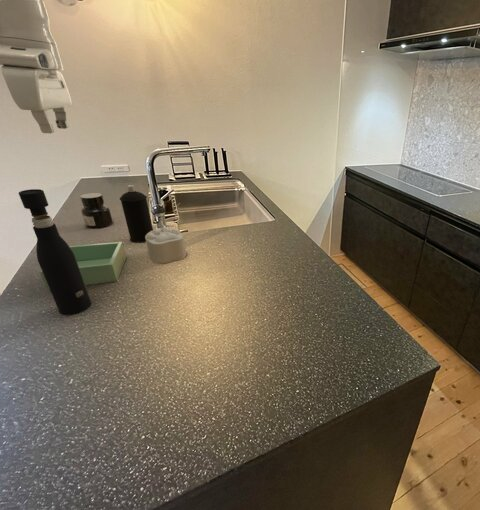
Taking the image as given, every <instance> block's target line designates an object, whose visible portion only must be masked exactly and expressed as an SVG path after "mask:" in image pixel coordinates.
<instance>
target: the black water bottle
mask: <svg viewBox="0 0 480 510" xmlns="http://www.w3.org/2000/svg"><path fill="white" fill-rule="evenodd" d="M18 196H19V198H20V201H21V204H22V205H23V208H24V209H25V210H29V211H30V215H31V217H32V218H31V223H32V226H33V227H32V229H33V231H34V234H35V237H36V249H35V251H36V258H37V262H38V265H39V267H40V270H42V272H43V274H44V277H45V279H46V281H47V284H48V286H49V291H50V294H51V296H52V298H53V300H54V303H55V305H56V308H57V311H58V312H59V314H61V315H63V316H71V315H76V314H80V313H82V312H84V311H86V310H87V309H89V308H90V307H91V306H92V300H91V297H90V295H89V291H88V290H87V287H86V286H87V285H85V283H84V281H83V278H82V275H81V272H80V269H79V266H78V264H77V261H76V258H75V255H74V253H73V252H72V250H71V248H70V247H69V246H70V245H69V244H68V243H67V241H66V240H65V239H64V238H63V237H62V236H61V235H60V233H59V231H58V227H57V226H56V223H54V221H53V218H52V217H51V216H50V215H49V213H48V211H47V207H49V202H48V199H47V197H46V194H45V191H44V190H43V189H39V188H35V189H34V188H31V189H24V190H20V191H19V192H18Z"/></svg>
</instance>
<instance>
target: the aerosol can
mask: <svg viewBox="0 0 480 510" xmlns="http://www.w3.org/2000/svg"><path fill="white" fill-rule="evenodd" d="M135 188H136V187H135V185H133V184H129V185H127V190H128V191H127V192H125V193H123V194H122V195H121V196H120V197H119V201H120V203H121V207H122V211H123V214H124V219H125V223H126V227H127V230H128V235H129V241H130V242H131V243H132V242H133V243H138V242H139V243H146V239H145V236H146V235H147V234H148V233H149V232H151V231H153V230H154V228H153V223H152V218H151V214H150V209H149V205H148V199H147V198H148V196H147V195H145V194H144V193H142V192H140V191H136V189H135Z"/></svg>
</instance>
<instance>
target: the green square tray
mask: <svg viewBox="0 0 480 510" xmlns="http://www.w3.org/2000/svg"><path fill="white" fill-rule="evenodd" d="M69 247H70V248H71V250H72V252H73V253H74V255H75V258H76V261H77V264H78V266H79V269H80V272H81V275H82V278H83V281H84V283H85V286H88V285H89V286H90V285H96V284H105V283H113V282H114V283H115V282H118V280H119V278H120V275H121V272H122V269H123V267H124V265H125V262H126V260H127V257H128V256H127V253H126V250H125V245H124V242H123V241H115V242H104V243H103V242H101V243H91V244H79V245H69ZM39 274H40V277H41V279H42V281H43V284H44V285H45V288H46V290H47V291H48V290H49V291H50V289H49V286H48V284H47V281H46V279H45V277H44V274H43V272H42V269H40V271H39Z"/></svg>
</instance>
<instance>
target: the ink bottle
mask: <svg viewBox="0 0 480 510" xmlns="http://www.w3.org/2000/svg"><path fill="white" fill-rule="evenodd" d="M79 199H80V202H81V204H82V206H83V208H81V211H80V212H81V216H82V218H83V221H84V224H85V227H86V228H89V229H101V228H105V227H108V226H109V227H110V226H111V225H112V224H113V223H114V221H113V217H112V214H111V211H110V208H109V206H107V205H106V204H105V200H104V197H103V194H102V193H99V192H98V193H97V192H92V193H91V192H90V193H85V194H84V193H83V194H81V195H80V196H79Z"/></svg>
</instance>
